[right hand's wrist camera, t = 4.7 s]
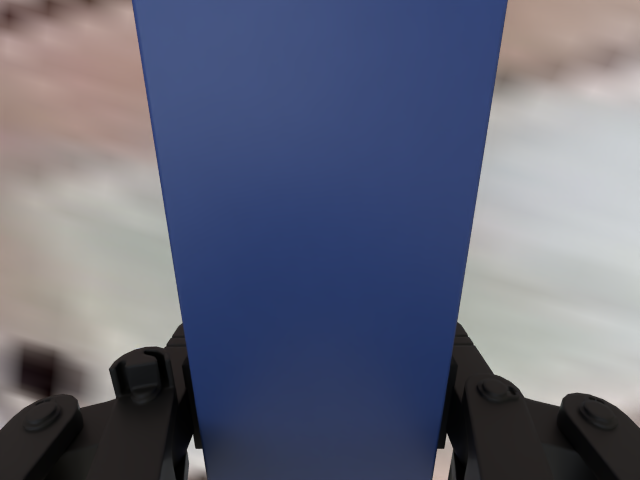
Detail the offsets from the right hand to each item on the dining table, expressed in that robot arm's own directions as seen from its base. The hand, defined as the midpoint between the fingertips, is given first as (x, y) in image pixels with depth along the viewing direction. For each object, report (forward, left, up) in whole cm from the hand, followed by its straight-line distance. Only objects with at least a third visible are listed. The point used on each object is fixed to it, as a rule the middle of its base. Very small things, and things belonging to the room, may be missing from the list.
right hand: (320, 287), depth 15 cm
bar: (-2, +9, -1) cm, 9 cm away
